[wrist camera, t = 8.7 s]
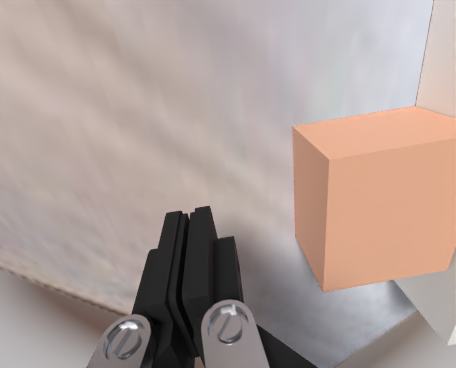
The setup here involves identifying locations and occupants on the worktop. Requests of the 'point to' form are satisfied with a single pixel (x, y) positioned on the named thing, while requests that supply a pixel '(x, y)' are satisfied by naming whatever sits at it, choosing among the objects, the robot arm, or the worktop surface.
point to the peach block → (376, 196)
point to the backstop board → (452, 106)
